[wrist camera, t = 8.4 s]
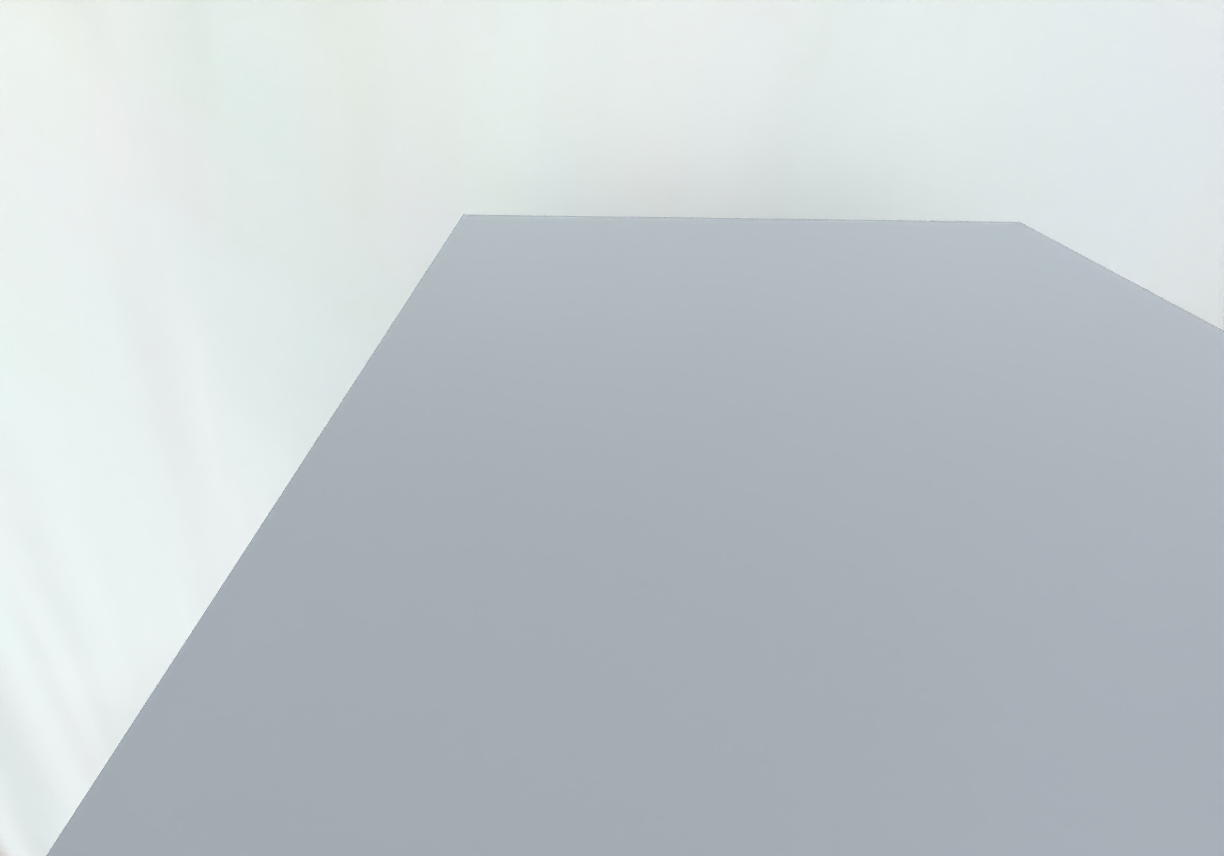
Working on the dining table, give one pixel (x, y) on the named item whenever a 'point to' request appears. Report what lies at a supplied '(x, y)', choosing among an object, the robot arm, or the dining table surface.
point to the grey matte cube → (722, 565)
